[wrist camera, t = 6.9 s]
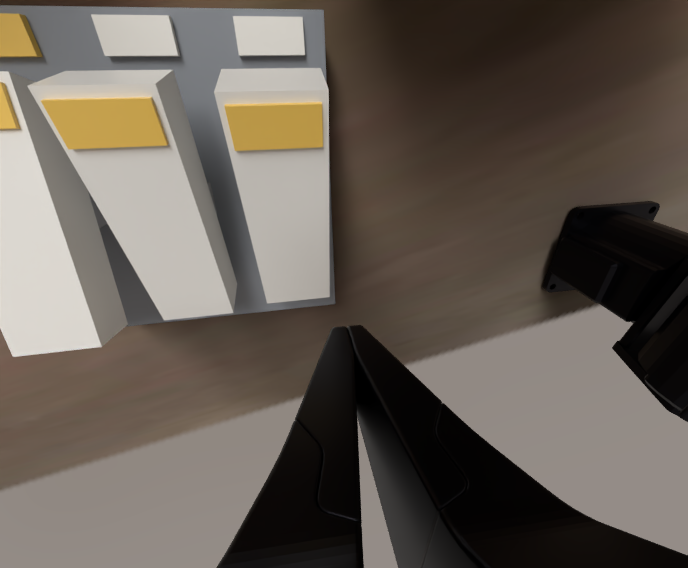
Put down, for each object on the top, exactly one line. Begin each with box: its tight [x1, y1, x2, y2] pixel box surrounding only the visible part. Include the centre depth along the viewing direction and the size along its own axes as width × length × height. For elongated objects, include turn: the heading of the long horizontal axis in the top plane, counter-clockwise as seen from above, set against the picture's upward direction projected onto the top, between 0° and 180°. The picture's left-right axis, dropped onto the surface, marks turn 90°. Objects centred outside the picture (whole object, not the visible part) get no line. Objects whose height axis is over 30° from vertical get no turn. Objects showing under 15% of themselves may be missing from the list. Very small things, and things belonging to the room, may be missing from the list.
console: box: [0, 5, 335, 327], centre depth 15 cm, size 13×13×4 cm
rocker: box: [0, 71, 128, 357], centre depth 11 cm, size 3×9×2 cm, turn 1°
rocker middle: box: [27, 70, 237, 320], centre depth 12 cm, size 3×9×2 cm, turn 1°
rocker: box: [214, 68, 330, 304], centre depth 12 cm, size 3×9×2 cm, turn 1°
